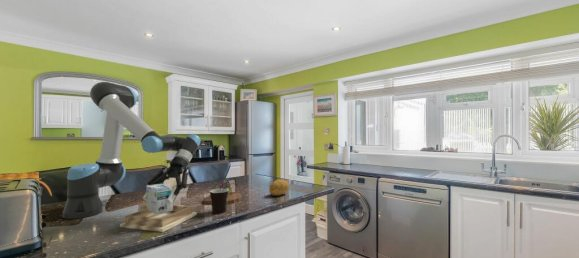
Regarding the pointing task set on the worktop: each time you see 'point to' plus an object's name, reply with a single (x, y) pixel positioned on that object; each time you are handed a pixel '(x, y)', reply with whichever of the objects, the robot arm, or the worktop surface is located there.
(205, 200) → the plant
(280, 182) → the potato
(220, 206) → the coffee mug
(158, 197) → the light bulb box
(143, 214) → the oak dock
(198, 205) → the worktop surface
